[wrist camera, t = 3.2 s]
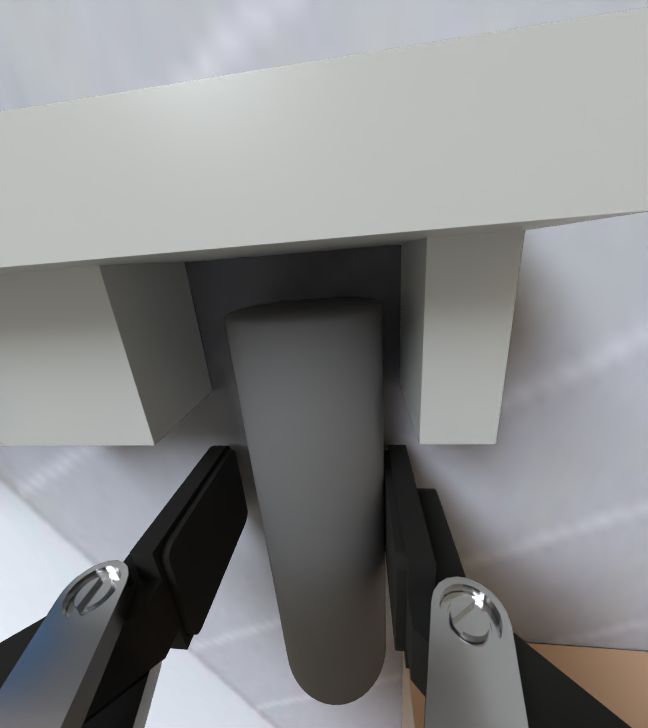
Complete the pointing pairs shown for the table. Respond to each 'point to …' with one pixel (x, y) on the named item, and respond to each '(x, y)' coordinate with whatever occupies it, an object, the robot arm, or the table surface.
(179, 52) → the table surface
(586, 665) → the open brown box
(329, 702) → the grey cylindrical rod
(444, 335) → the panel with blue tabs
